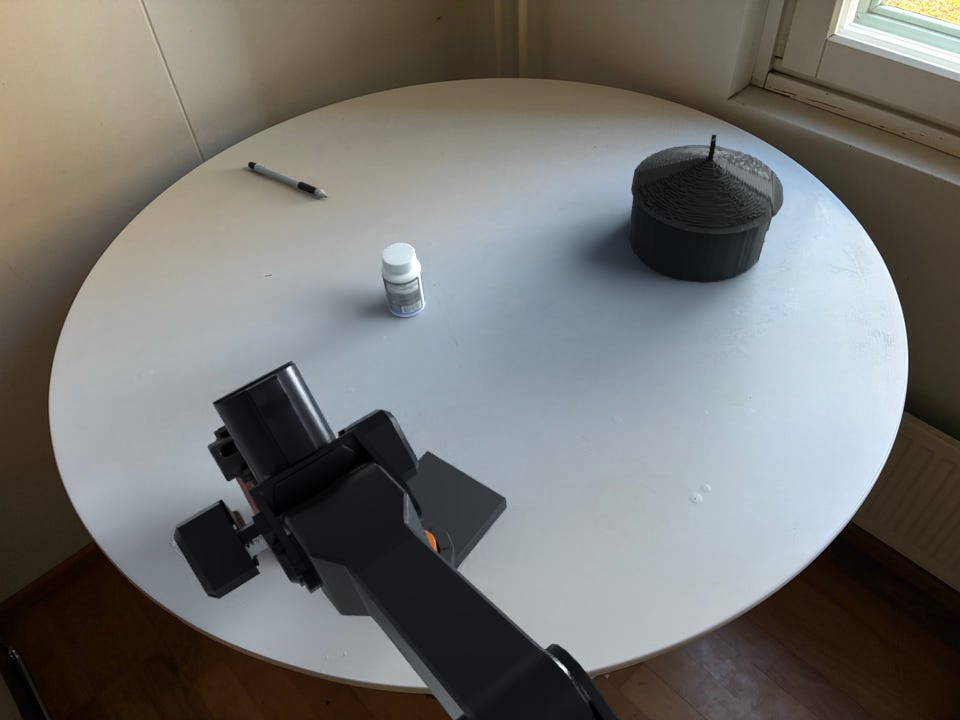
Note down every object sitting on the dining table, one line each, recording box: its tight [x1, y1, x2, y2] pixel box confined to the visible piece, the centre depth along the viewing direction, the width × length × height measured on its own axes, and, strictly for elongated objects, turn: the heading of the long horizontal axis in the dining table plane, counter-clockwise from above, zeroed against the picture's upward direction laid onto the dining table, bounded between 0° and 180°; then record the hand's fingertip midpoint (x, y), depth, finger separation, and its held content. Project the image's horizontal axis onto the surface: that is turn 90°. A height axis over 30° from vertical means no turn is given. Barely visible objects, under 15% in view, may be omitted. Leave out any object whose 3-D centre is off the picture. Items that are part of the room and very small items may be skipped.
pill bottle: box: [381, 242, 427, 318], centre depth 93 cm, size 5×5×8 cm
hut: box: [628, 134, 784, 284], centre depth 96 cm, size 18×18×15 cm
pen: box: [247, 161, 329, 199], centre depth 114 cm, size 1×16×1 cm, turn 56°
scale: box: [406, 450, 508, 570], centre depth 73 cm, size 13×10×4 cm
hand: (286, 488), depth 68 cm, fingers open, 9 cm apart
